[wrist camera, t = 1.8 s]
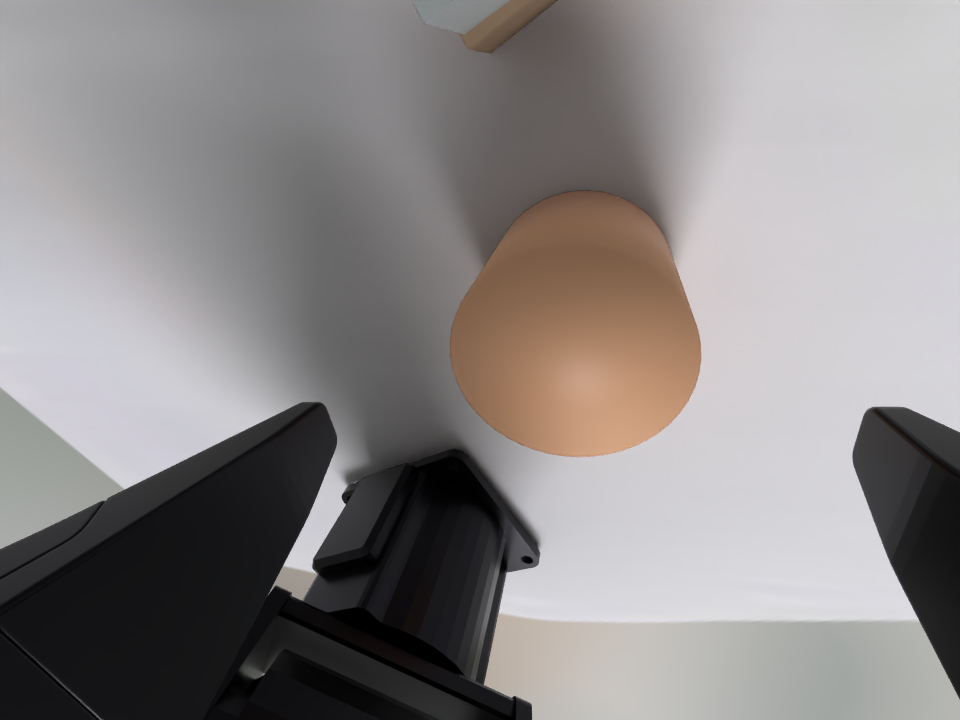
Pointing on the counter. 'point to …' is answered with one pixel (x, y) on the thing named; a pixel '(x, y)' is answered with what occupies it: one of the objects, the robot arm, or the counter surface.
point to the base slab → (504, 24)
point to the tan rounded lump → (578, 329)
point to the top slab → (456, 13)
